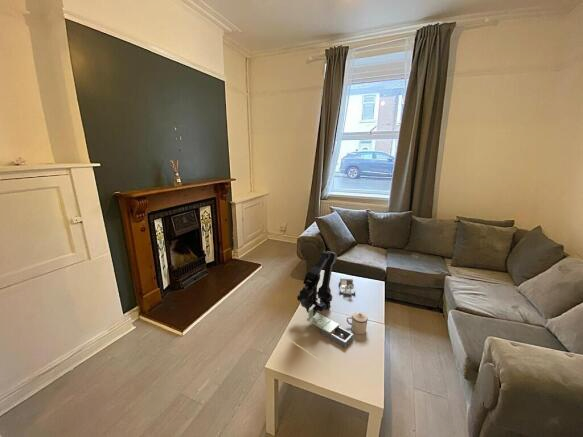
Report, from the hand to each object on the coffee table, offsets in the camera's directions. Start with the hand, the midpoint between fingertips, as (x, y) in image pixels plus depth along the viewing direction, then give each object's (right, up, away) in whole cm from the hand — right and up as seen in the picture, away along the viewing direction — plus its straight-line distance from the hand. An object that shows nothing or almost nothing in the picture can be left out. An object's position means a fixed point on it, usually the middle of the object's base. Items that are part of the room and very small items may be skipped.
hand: (311, 313), depth 152 cm
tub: (+14, -9, -11) cm, 20 cm away
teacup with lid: (+27, -8, -3) cm, 28 cm away
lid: (+6, -3, -5) cm, 8 cm away
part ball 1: (+12, -8, -9) cm, 17 cm away
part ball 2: (+16, -9, -13) cm, 22 cm away
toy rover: (+31, +2, +39) cm, 50 cm away
